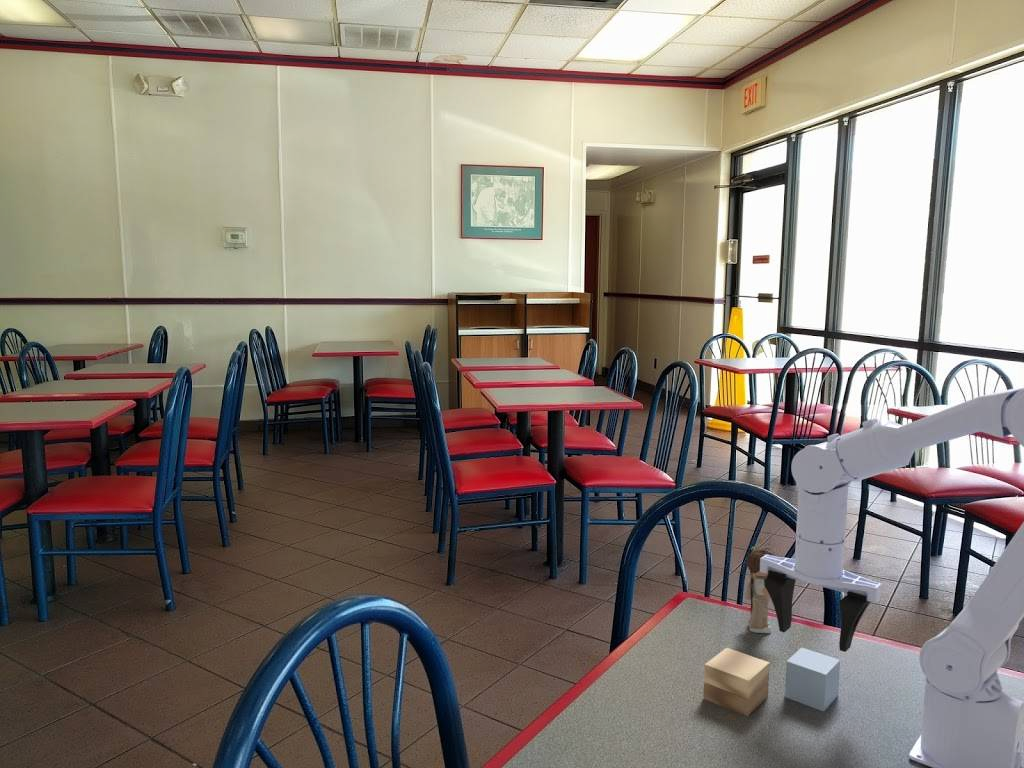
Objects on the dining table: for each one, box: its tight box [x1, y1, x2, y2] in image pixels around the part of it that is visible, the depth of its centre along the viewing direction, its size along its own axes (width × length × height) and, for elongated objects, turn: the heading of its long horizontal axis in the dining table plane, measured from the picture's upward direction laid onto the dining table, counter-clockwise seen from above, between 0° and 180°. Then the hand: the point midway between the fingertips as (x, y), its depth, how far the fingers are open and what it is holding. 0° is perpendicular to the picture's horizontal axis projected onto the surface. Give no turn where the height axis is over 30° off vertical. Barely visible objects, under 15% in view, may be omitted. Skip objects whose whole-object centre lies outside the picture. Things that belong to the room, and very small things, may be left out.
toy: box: [744, 539, 777, 634], centre depth 115 cm, size 6×6×15 cm
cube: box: [784, 647, 841, 712], centre depth 96 cm, size 5×5×5 cm
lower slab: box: [703, 680, 770, 717], centre depth 96 cm, size 6×6×2 cm
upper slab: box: [703, 647, 771, 700], centre depth 96 cm, size 6×6×2 cm
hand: (814, 638), depth 96 cm, fingers open, 7 cm apart
